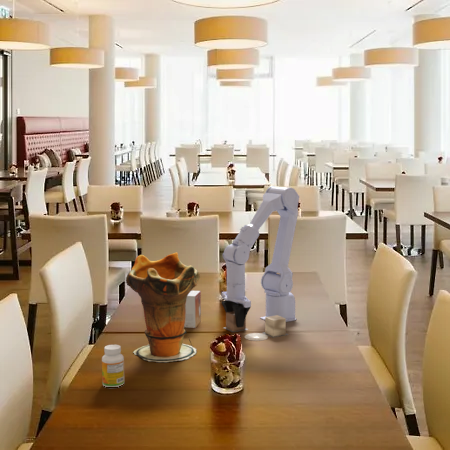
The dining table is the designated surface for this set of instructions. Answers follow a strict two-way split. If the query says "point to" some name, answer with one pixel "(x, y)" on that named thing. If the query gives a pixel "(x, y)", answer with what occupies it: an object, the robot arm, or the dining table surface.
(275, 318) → the maple block
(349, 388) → the dining table surface
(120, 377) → the supplement bottle
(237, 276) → the robot arm
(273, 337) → the code tile
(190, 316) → the small box
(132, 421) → the dining table surface
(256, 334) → the coaster
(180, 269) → the decorative vase
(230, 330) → the code tile
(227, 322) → the walnut block
